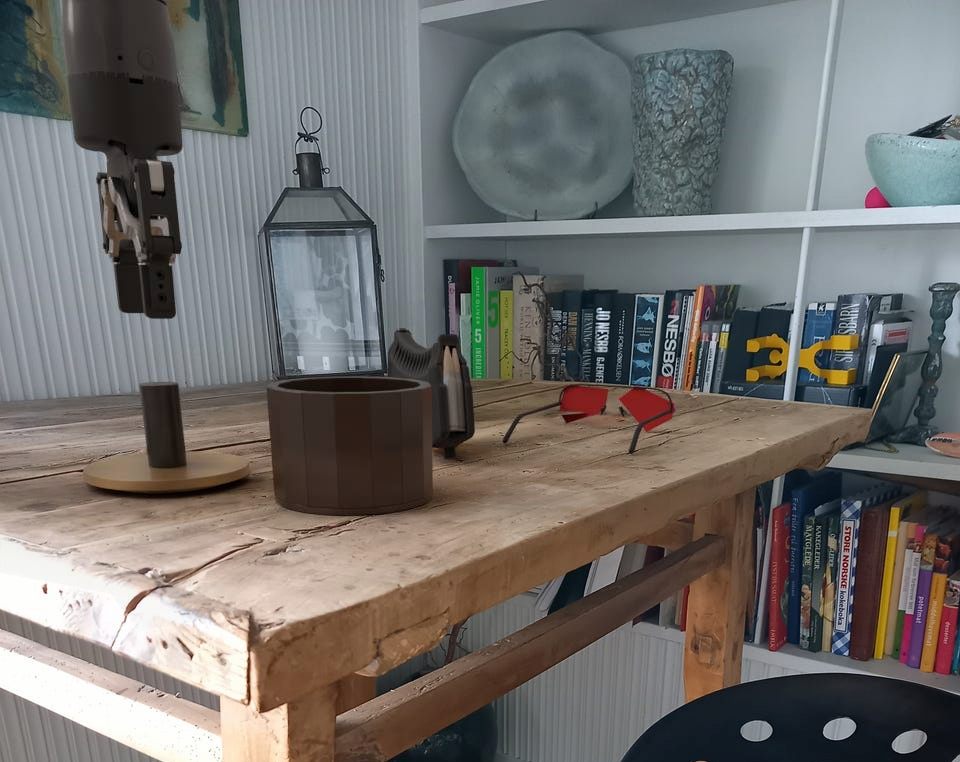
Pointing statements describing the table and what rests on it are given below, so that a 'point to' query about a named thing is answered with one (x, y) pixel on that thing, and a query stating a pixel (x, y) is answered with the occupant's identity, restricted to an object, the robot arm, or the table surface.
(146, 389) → the lid
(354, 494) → the brown faceted tub
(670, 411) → the glasses
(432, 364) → the magazine
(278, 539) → the table surface
